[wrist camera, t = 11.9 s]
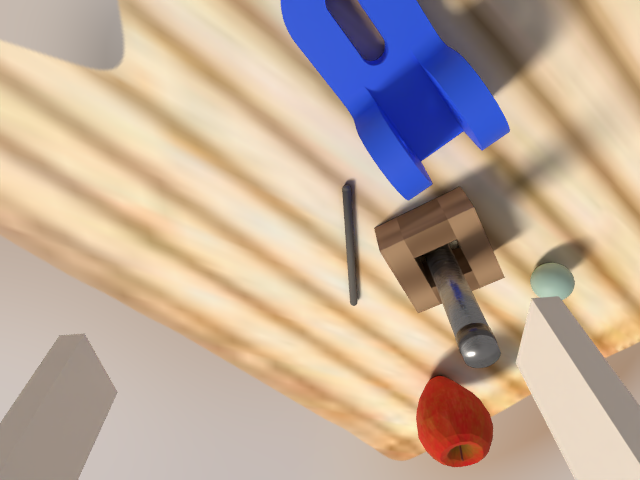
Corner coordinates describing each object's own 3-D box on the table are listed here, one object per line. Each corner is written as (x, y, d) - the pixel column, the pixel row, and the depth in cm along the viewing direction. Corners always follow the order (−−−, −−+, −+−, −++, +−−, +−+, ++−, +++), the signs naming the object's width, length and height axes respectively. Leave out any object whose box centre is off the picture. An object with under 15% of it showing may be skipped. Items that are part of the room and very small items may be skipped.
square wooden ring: (374, 228, 42) (379, 251, 39) (460, 186, 40) (473, 207, 36) (410, 288, 46) (418, 313, 43) (490, 253, 44) (504, 277, 41)
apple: (484, 363, 53) (519, 445, 44) (455, 404, 58) (481, 485, 49) (421, 352, 52) (444, 434, 43) (396, 394, 57) (413, 476, 47)
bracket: (478, 107, 36) (522, 146, 28) (396, 166, 39) (417, 215, 31) (348, -102, 28) (362, -126, 20) (258, -9, 31) (241, 0, 23)
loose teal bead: (527, 256, 44) (545, 280, 41) (566, 253, 44) (587, 277, 41) (521, 286, 46) (537, 311, 43) (558, 283, 46) (577, 308, 43)
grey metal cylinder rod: (420, 231, 42) (465, 344, 30) (447, 229, 42) (503, 341, 30) (419, 253, 44) (461, 369, 31) (445, 251, 44) (498, 367, 31)
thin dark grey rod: (341, 183, 39) (342, 187, 39) (350, 182, 39) (350, 186, 39) (350, 302, 47) (350, 307, 47) (357, 301, 47) (357, 306, 47)
